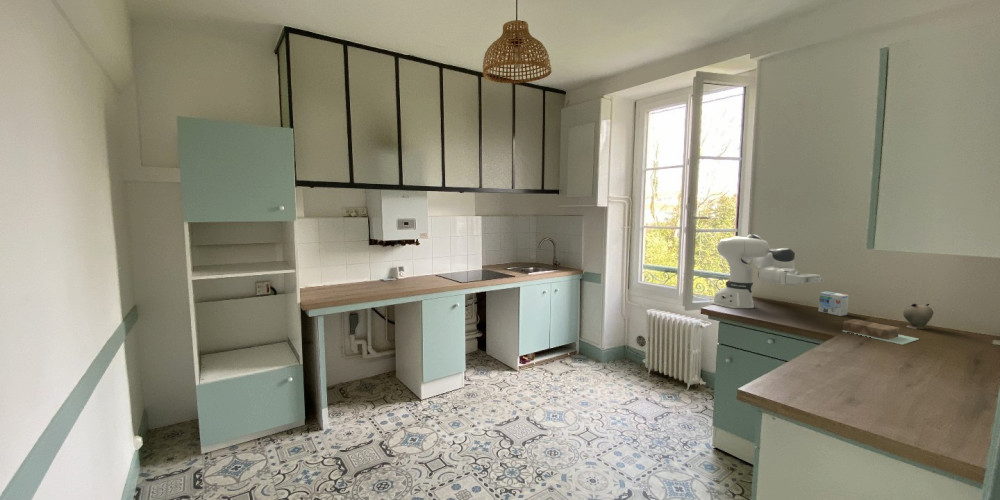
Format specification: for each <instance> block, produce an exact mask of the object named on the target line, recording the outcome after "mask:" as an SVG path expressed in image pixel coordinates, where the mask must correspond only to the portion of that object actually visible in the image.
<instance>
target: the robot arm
mask: <svg viewBox="0 0 1000 500" xmlns="http://www.w3.org/2000/svg"><path fill="white" fill-rule="evenodd" d="M716 249H717V252H718V254H719V255H720V256H722V258H724V259H725V260H726V262H727V264H728V266H729V274H730V275H729V279H728V280H727V281H726V282H725V287H723V288H721V289H720V290H718V291H716V292H715V295H714V298H712V299H711V300H709V304H711V305H717V306H722V307H726V308H731V309H753V308H755V305H754V300H753V291H754V285H753V284H754V282H753V276H754V275H753V273H754V269H753V268H752V266H751V265H749V263H750V262H751V261H753V262H752V263H753V264H754V265H755V266H756V267H757V269H758V271H757V277H758V279H759V281H761V282H763V283H764V282H765V283H769V284H770V283H771V284H774V285H775V284H778V285H779V284H780V285H784V286H791V287H795V286H796V285H801V284H803V285H805V284H813V283H814V284H815V283H820V284H821V283H824V278H822V275H821V274H817V273H816V274H814V273H801V272H800V271H799V270H798V269H796V267H795V256H796V253H795V251H794V250H793V249H791V248H787V247H782V248H781V247H780V248H771V245H770V244H769V243H768V241H767V240H765V239H762V237H761V236H759V235H757V234H755V233H754V234H753V233H749V234H747V235H746V236H745V237H743V236H740V235H735V236H731V237H729V238H722V239H720V241H719V242H718V243H717V248H716Z"/></svg>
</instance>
